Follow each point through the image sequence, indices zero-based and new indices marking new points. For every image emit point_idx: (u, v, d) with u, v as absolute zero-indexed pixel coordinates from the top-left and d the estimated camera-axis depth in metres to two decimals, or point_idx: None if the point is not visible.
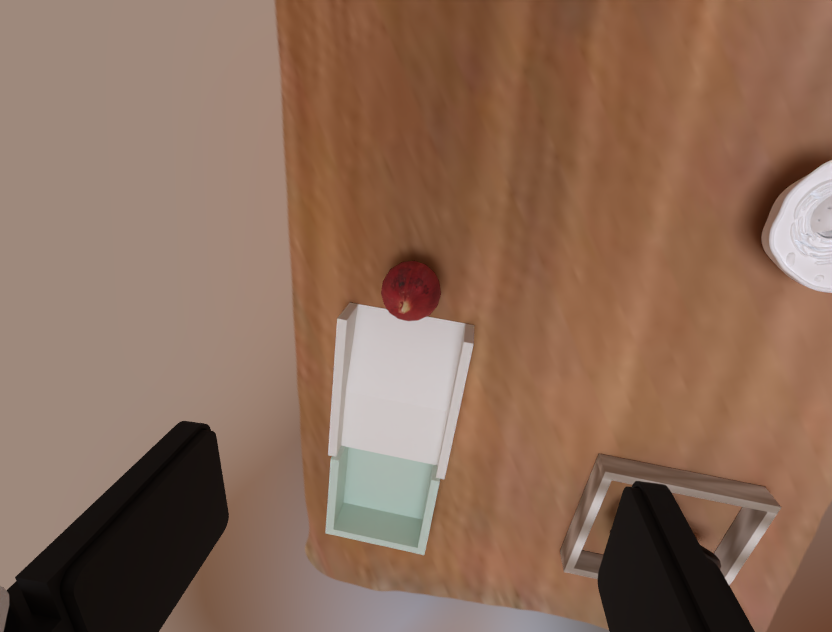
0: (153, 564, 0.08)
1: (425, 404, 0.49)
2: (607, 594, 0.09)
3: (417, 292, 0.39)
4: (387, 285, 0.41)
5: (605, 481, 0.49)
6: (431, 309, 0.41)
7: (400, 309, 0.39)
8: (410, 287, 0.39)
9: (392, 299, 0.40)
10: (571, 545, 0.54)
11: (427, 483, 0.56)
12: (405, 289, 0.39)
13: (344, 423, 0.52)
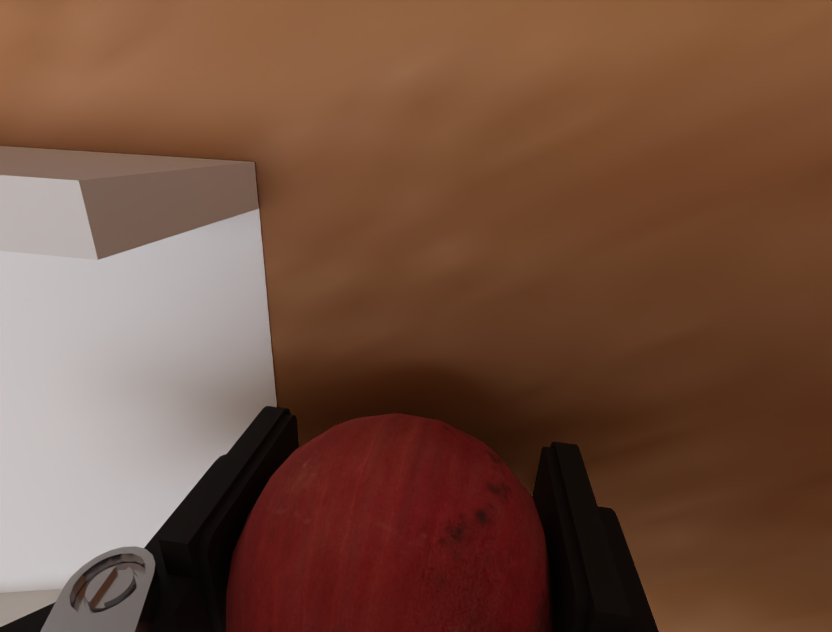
0: None
1: None
2: None
3: None
4: (437, 596, 0.06)
5: None
6: None
7: None
8: None
9: None
10: None
11: None
12: None
13: None
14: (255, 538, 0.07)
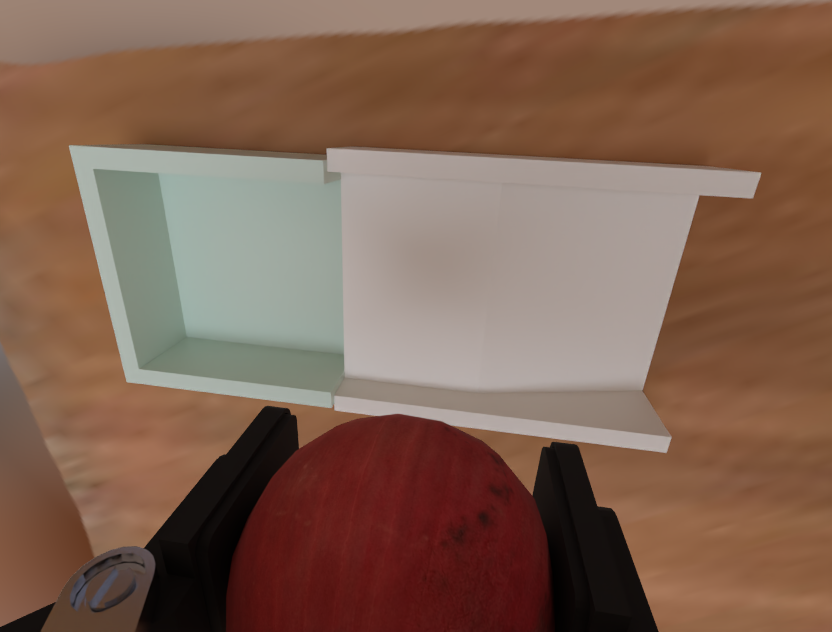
0: None
1: (487, 352, 0.24)
2: None
3: None
4: (440, 598, 0.06)
5: None
6: None
7: None
8: None
9: None
10: None
11: (278, 344, 0.28)
12: None
13: (408, 176, 0.21)
14: (255, 540, 0.07)
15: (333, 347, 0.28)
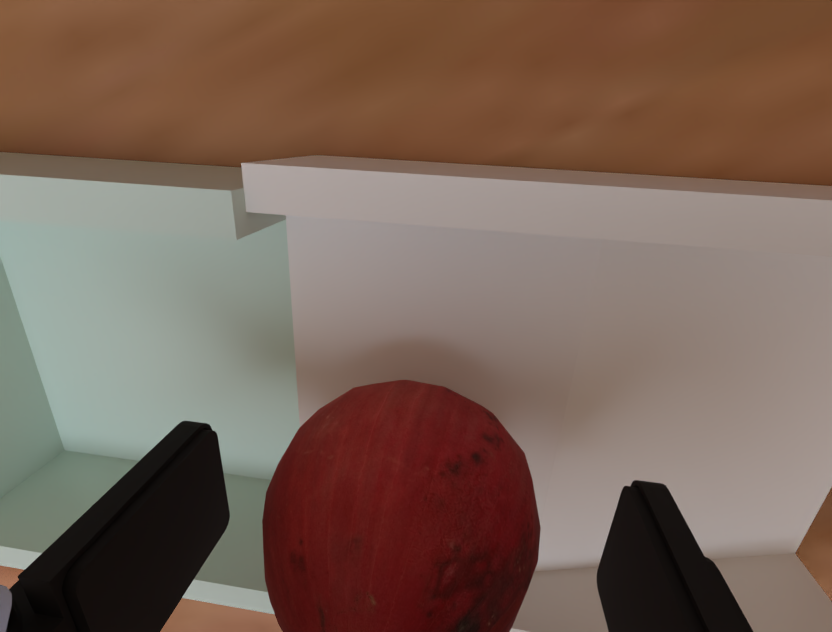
0: (155, 563, 0.08)
1: (550, 513, 0.14)
2: (606, 593, 0.09)
3: None
4: (437, 514, 0.07)
5: None
6: None
7: None
8: None
9: (369, 602, 0.06)
10: None
11: None
12: None
13: None
14: (287, 473, 0.08)
15: None
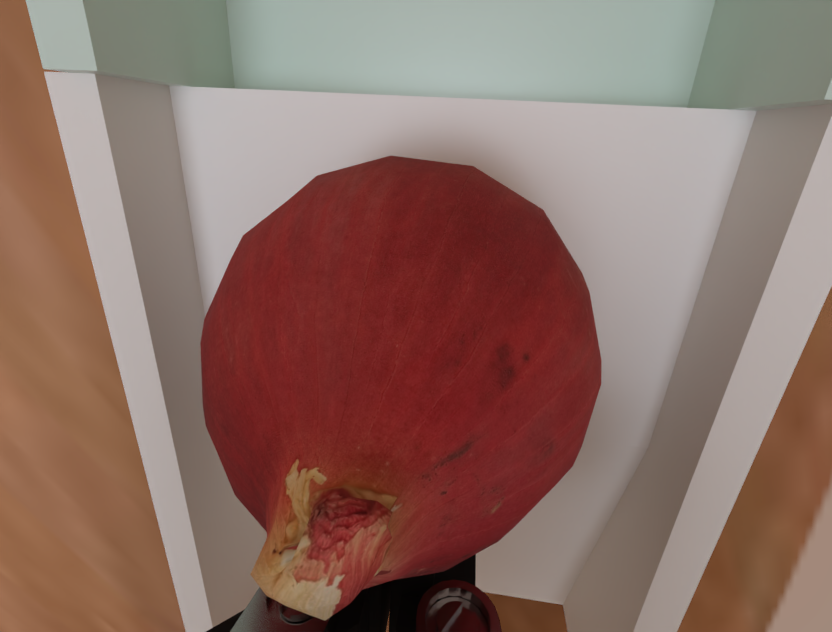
0: None
1: None
2: None
3: None
4: None
5: None
6: (206, 326, 0.05)
7: (357, 577, 0.03)
8: None
9: (493, 506, 0.04)
10: None
11: None
12: None
13: (692, 282, 0.10)
14: (549, 255, 0.05)
15: (246, 36, 0.11)
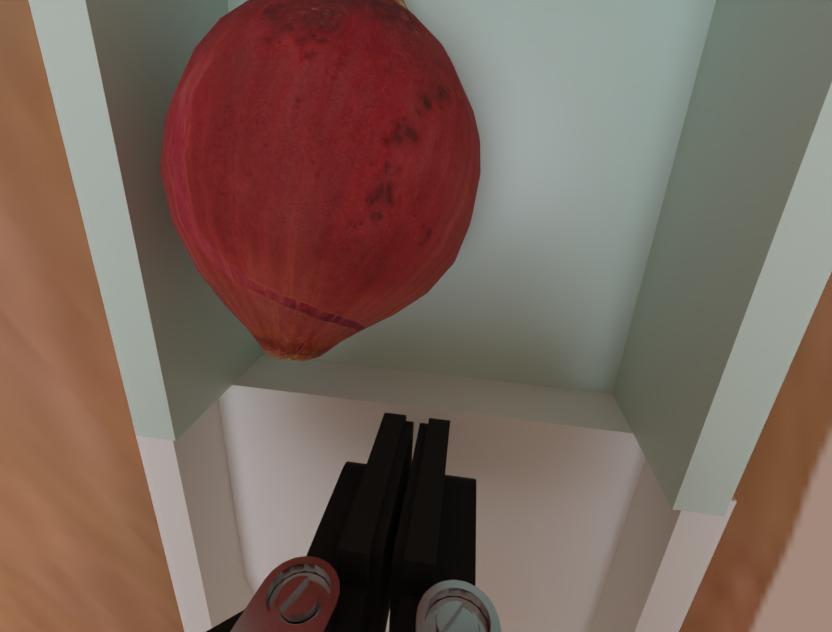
0: (394, 543, 0.09)
1: None
2: None
3: None
4: (436, 57, 0.07)
5: None
6: None
7: None
8: None
9: None
10: None
11: None
12: None
13: (615, 531, 0.12)
14: None
15: None
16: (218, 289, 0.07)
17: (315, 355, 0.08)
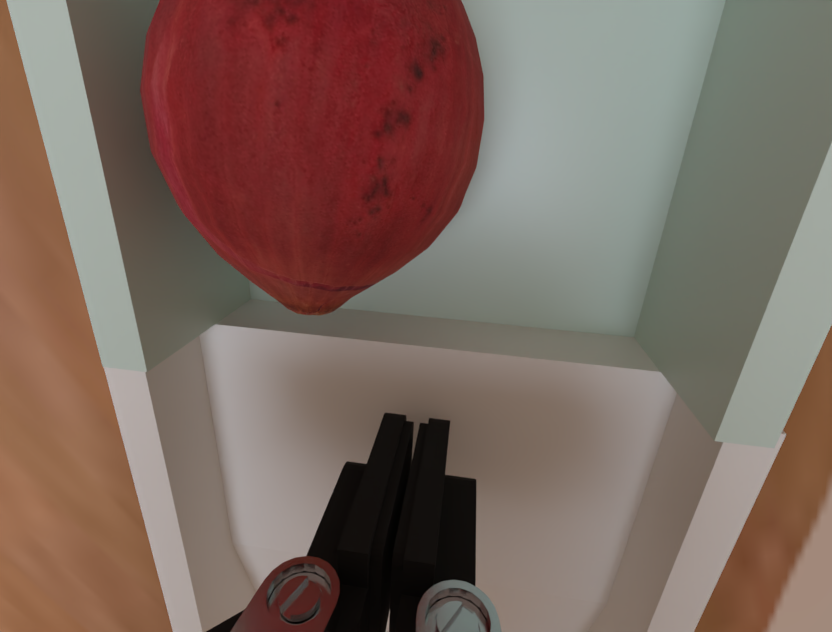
0: (394, 543, 0.09)
1: None
2: None
3: None
4: None
5: None
6: None
7: None
8: None
9: None
10: None
11: None
12: None
13: (638, 487, 0.11)
14: None
15: None
16: (235, 268, 0.08)
17: (334, 309, 0.09)
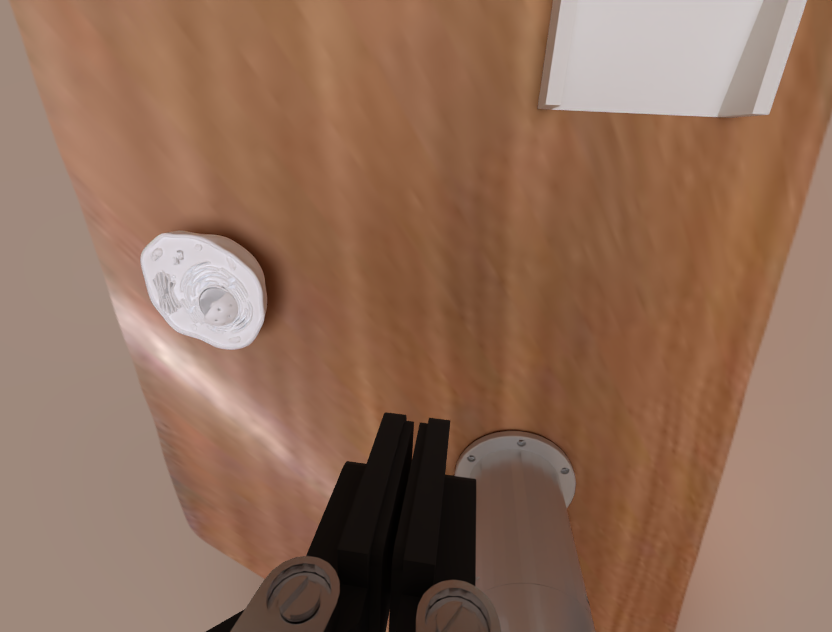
0: (394, 543, 0.09)
1: None
2: None
3: None
4: None
5: None
6: None
7: None
8: None
9: None
10: None
11: None
12: None
13: None
14: None
15: None
16: None
17: None
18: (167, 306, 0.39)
